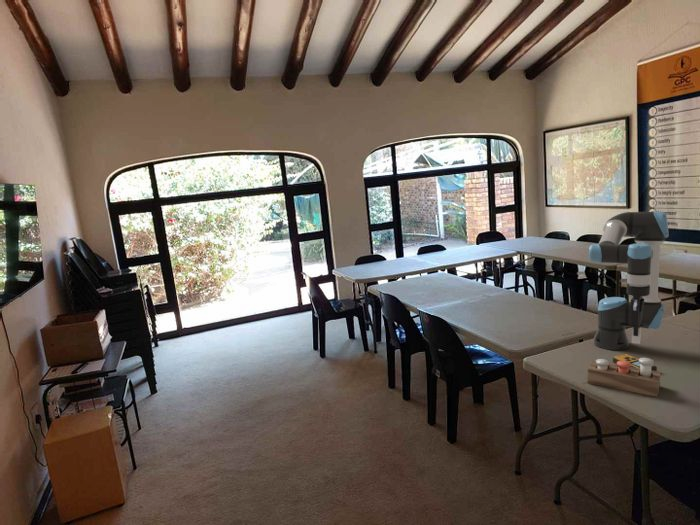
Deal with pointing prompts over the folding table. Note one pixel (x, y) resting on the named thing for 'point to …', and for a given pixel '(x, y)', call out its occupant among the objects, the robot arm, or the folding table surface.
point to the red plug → (623, 366)
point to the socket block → (624, 379)
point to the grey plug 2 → (645, 367)
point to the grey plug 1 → (602, 364)
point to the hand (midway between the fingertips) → (635, 342)
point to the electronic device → (631, 361)
